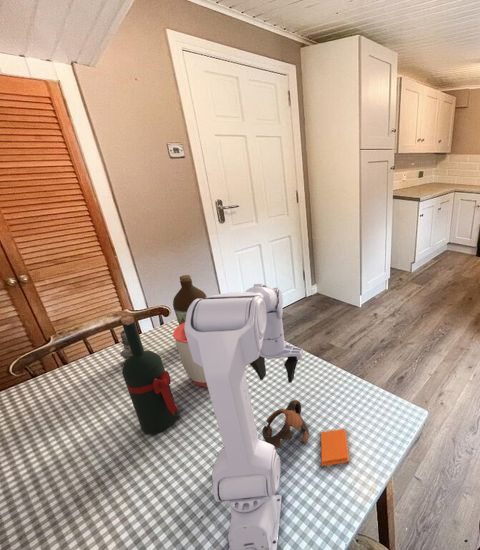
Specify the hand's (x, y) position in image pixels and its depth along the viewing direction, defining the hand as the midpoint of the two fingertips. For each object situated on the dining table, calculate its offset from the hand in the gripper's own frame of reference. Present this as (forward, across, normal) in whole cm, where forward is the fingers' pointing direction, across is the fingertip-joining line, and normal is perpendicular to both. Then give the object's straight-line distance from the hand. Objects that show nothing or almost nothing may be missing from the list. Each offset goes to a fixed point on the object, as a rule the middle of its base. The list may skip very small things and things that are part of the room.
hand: (277, 378), depth 78 cm
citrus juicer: (+10, +24, -10) cm, 28 cm away
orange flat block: (+10, -17, +10) cm, 22 cm away
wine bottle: (+10, +27, +9) cm, 30 cm away
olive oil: (+10, +42, -26) cm, 50 cm away
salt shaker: (+10, +56, -13) cm, 58 cm away
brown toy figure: (+10, -6, +8) cm, 14 cm away
